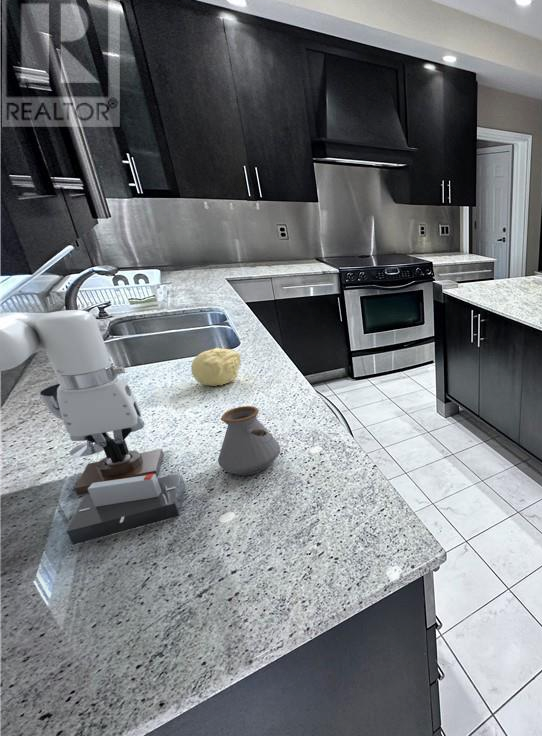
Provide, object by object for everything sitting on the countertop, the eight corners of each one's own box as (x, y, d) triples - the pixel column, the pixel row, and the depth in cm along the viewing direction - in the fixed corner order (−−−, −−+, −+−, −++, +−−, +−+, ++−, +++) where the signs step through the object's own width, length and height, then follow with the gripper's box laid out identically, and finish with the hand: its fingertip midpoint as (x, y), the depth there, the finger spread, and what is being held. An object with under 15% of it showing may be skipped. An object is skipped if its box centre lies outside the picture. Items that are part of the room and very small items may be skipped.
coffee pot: (214, 463, 88) (197, 402, 83) (271, 443, 96) (259, 387, 91) (246, 513, 75) (228, 445, 70) (309, 486, 83) (298, 422, 78)
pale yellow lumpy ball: (226, 390, 120) (218, 357, 116) (186, 388, 120) (176, 354, 116) (250, 375, 131) (243, 344, 127) (213, 373, 131) (205, 342, 127)
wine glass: (57, 453, 89) (30, 392, 83) (100, 435, 96) (78, 378, 90) (82, 460, 87) (55, 399, 81) (124, 442, 94) (102, 383, 88)
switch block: (77, 495, 77) (70, 480, 76) (90, 470, 84) (84, 456, 83) (157, 477, 83) (152, 463, 82) (164, 454, 90) (159, 441, 89)
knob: (95, 507, 71) (86, 487, 69) (100, 501, 72) (91, 481, 71) (158, 496, 74) (151, 478, 72) (161, 491, 75) (155, 472, 74)
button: (107, 473, 81) (104, 466, 80) (111, 463, 84) (108, 456, 83) (130, 468, 83) (128, 461, 82) (134, 459, 86) (131, 452, 85)
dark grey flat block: (69, 552, 66) (62, 537, 64) (92, 502, 76) (87, 489, 75) (178, 521, 73) (173, 508, 72) (186, 480, 83) (182, 467, 82)
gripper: (143, 363, 82) (168, 440, 89) (38, 376, 75) (74, 459, 82) (136, 377, 76) (163, 458, 84) (21, 392, 69) (62, 479, 76)
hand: (119, 458), depth 83 cm, fingers closed
